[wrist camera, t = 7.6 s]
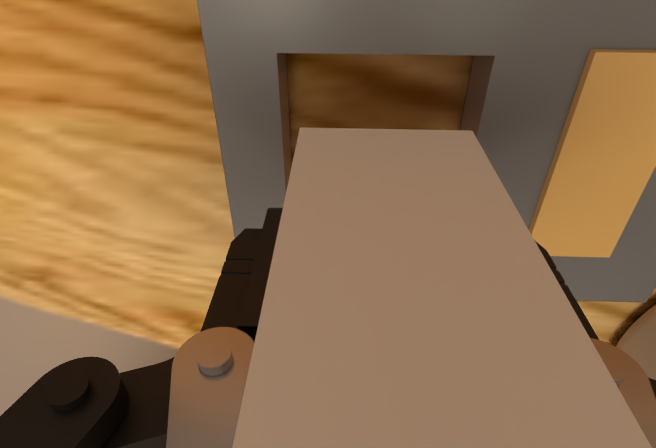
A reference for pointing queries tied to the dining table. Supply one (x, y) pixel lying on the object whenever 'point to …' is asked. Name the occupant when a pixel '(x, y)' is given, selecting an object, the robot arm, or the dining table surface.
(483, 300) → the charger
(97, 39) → the dining table surface
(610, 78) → the plate
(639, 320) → the cylinder vase
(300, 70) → the dining table surface
